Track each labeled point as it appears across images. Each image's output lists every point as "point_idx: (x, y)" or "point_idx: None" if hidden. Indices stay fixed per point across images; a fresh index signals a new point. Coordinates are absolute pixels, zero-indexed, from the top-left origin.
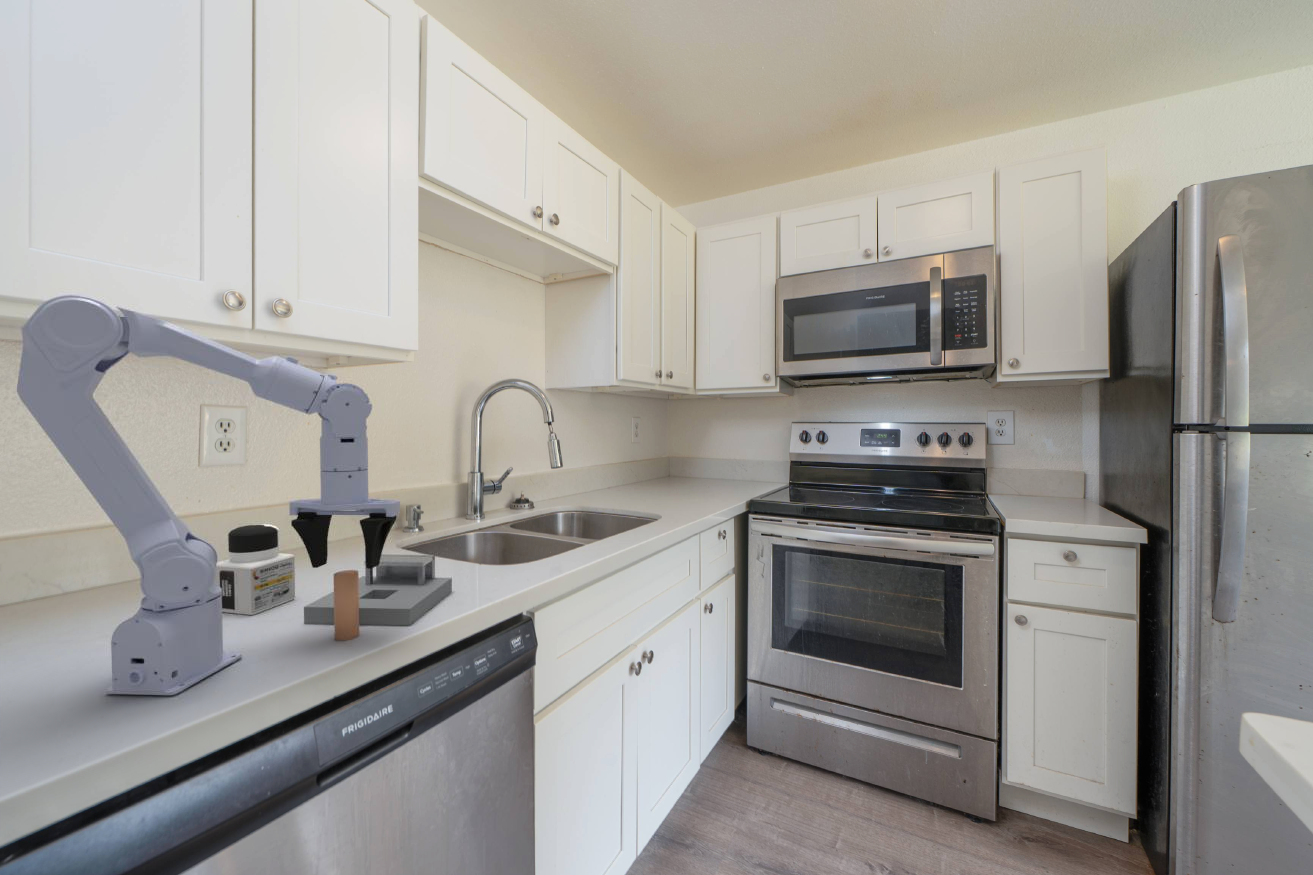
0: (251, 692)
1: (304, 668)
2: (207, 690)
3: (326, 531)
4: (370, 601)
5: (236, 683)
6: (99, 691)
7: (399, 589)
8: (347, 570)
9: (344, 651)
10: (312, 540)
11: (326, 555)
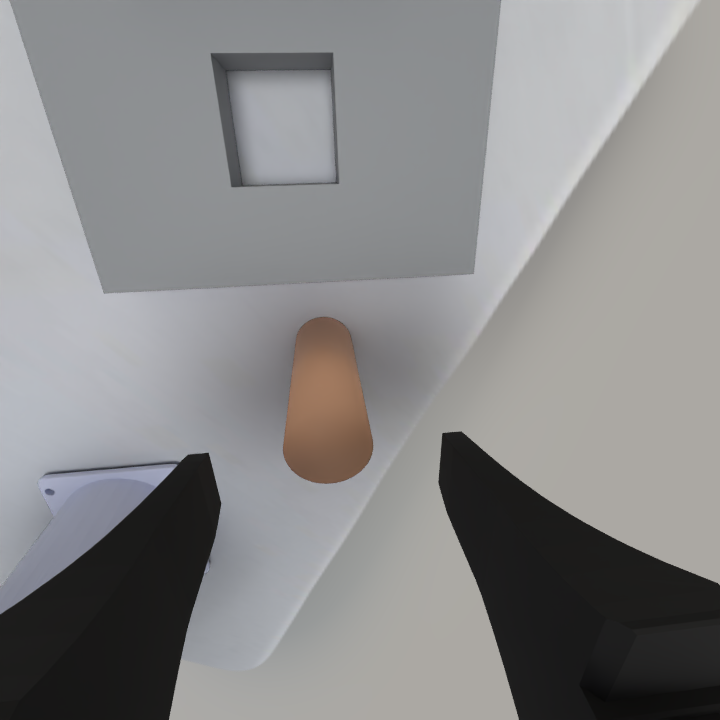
0: (318, 540)
1: None
2: (242, 546)
3: (131, 594)
4: (301, 215)
5: (267, 526)
6: None
7: (331, 41)
8: (309, 420)
9: (372, 412)
10: (177, 650)
11: (195, 477)
